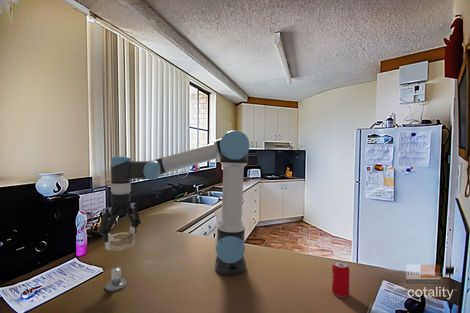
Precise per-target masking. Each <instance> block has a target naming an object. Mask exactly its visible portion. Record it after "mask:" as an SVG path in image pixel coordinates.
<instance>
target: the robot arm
mask: <svg viewBox="0 0 470 313" xmlns="http://www.w3.org/2000/svg"><path fill="white" fill-rule="evenodd" d="M250 147H251V146H250V140H249V138H248V136H247V135H246V134H245V133H243V131H240V130H229V131H227V132H226V133H224V135H222V137H221V138H218V139H215V140H214V142H211V143H210V144H206V145H202V146H198V147H195V148H191V149H187V150H184V151H180V152H178V153H177V152H176V153H173V154H171V155H166V156H164V157H159V158H157V159H152V160H144V161H143V160H141V161H140V160H138V161H135V160H134V161H133V160H132V159H131V158H132V157H131V156H129V155H128V156H126V155H125V156H121V155H120V156H119V155H117V156H116V155H115V156H112V158H111V161H110V162H111V164H110V192H111V194H110V203H111V204H110V207H103V208H102V217H101V221H100V223H99V227H98V231H97V232H98V234H100V235H103V236H102V239H103V240H102V241H103V242H104V246H105V247H104V248H105V250H106V251H111V235H112V234H111V233H110V231H111V229H112V227H113V226H114V224H115V221H117V219H118V217H120V216H124V215H125V217H126V219H127V220H128V222H129V223H130V225H131V226H129V233H132V234H134V243H135V241H136V234H137V228H138V227H139V225H141V224H142V223H141V219H140V215H139V214H140V213H139V212H138V203H135V202H132V203H131V190H132V188H131V183H132V180H148V181H149V180H151V181H152V180H157V179H159V178H160V176H161V175H164V174H167V173H171V172H174V171H179V170H181V169H185V168H188V167H192V166H196V165H199V164H204V163H207V162H210V161H213V160H217V159H219V163H220V164H221V166H222V167H223V168H222V169H223V170H222V171H223V173H222V174H223V175H222V194H221V196H222V197H221V217H220V218H221V220H219V221H218V225H217V227H216V228H217V230H216V232H217V233H216V245H215V252H216V258H215V262H214V270H215V271H216V272H217V273H218V274H220V275H223V276H237V275H240V274H242V273H244V272H245V271H246V269H247V262H246V259H245V252H246V245H245V233H246V231H245V230H246V228H245V226H244V225H243V221H242V216H243V214H242V213H243V194H244V192H243V191H244V176H245V175H244V169H245V167H246V166H247V165H248V161H249V160H248V159H249V151H250V150H249V149H250ZM130 208H131V211H130ZM110 213H111V214H110ZM109 216H110V217H109Z"/></svg>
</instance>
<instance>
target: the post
mask: <svg viewBox="0 0 470 313" xmlns="http://www.w3.org/2000/svg"><path fill="white" fill-rule="evenodd" d="M110 274H111V276H110V278H111V279H110V281H108V282H107V283H106V284H105V286H104V288H105V291H106V292H117V291H120V290H123V289H124V288H125V287H126V286H127V284H128V283H127V279H125V278H122V268H121V267H119V266H118V267H113V268H112V269H111V270H110Z"/></svg>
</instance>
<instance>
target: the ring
mask: <svg viewBox="0 0 470 313" xmlns="http://www.w3.org/2000/svg"><path fill="white" fill-rule="evenodd" d="M134 245H135V242H134V234H132V233H130V231H129V232H117V233H114V234H111V250H110V251H111V252H118V251H119V252H120V251H124V250H125V251H126V250H128V249H131V248H132V247H133V246H134Z"/></svg>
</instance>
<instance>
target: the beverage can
mask: <svg viewBox="0 0 470 313" xmlns="http://www.w3.org/2000/svg"><path fill="white" fill-rule="evenodd" d="M331 271H332V272H331V291H332V293H333V295H334V296H336V297H338V298H343V299H344V298H347V297H348V296H350V267H349V265H348V263H347V262H344V261H341V260H336V261H334V262H333V263H332V266H331Z"/></svg>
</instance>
